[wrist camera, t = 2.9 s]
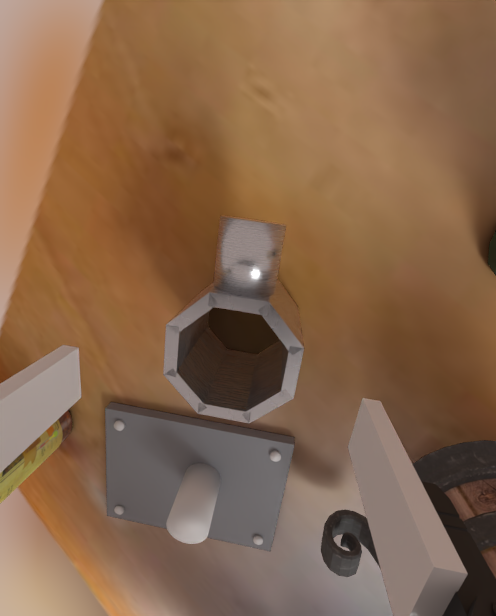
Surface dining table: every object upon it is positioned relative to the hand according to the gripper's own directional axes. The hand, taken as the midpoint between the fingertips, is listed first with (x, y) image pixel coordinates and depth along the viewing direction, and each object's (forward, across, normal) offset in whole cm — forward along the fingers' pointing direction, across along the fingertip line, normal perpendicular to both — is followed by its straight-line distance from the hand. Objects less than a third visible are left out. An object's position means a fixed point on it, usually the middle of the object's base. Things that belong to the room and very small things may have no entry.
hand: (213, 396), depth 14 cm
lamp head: (+12, 0, -2) cm, 12 cm away
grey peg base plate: (+12, +3, +18) cm, 22 cm away
